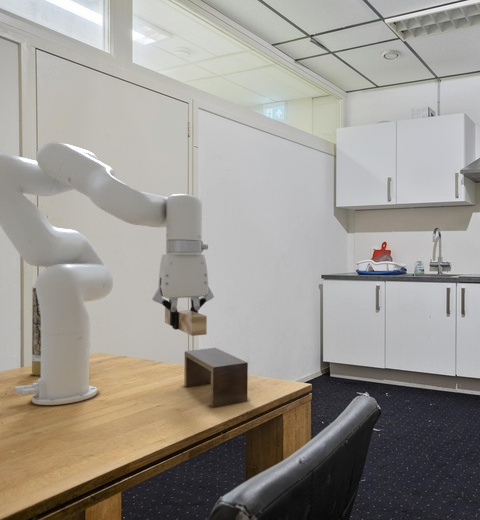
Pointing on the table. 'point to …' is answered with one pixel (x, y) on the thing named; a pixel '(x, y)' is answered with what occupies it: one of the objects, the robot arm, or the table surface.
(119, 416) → the table surface
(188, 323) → the stick
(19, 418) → the table surface
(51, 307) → the robot arm
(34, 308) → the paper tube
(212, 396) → the dark brown channel bracket
